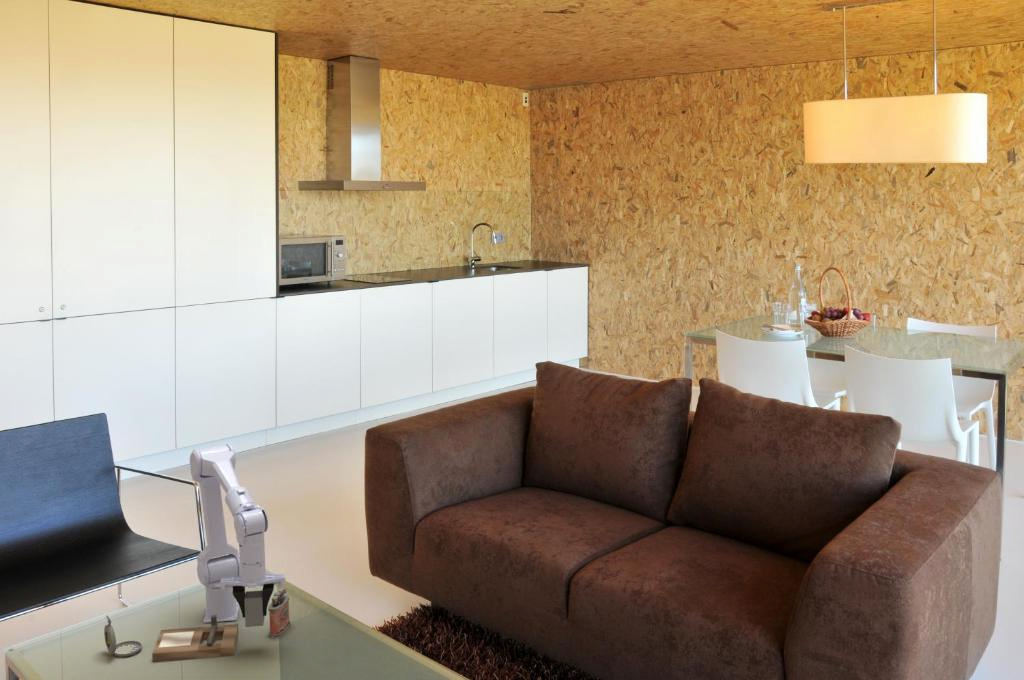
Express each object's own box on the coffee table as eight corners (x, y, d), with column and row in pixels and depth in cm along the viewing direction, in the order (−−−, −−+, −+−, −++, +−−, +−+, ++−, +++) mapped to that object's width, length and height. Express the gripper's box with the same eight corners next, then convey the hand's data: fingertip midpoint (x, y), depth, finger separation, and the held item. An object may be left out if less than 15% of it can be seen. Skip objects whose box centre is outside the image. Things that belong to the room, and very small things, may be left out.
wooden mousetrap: (161, 637, 232) (160, 618, 232) (238, 631, 236) (237, 612, 235) (152, 661, 221) (151, 641, 220) (233, 655, 224) (232, 635, 223)
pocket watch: (148, 647, 228) (145, 607, 226) (123, 663, 220) (120, 623, 218) (120, 641, 230) (117, 602, 229) (94, 657, 223) (91, 617, 221)
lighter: (279, 638, 232) (277, 599, 231) (266, 637, 233) (264, 598, 231) (293, 623, 240) (291, 586, 238) (280, 622, 241) (279, 584, 239)
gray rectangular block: (247, 619, 227) (245, 591, 226) (264, 618, 228) (263, 590, 227) (245, 627, 223) (244, 598, 222) (263, 625, 224) (262, 597, 223)
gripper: (218, 569, 218) (220, 624, 220) (283, 564, 221) (285, 620, 223) (221, 557, 225) (224, 611, 227) (285, 553, 228) (286, 606, 230)
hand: (254, 614), depth 225 cm, fingers closed on gray rectangular block, 4 cm apart
